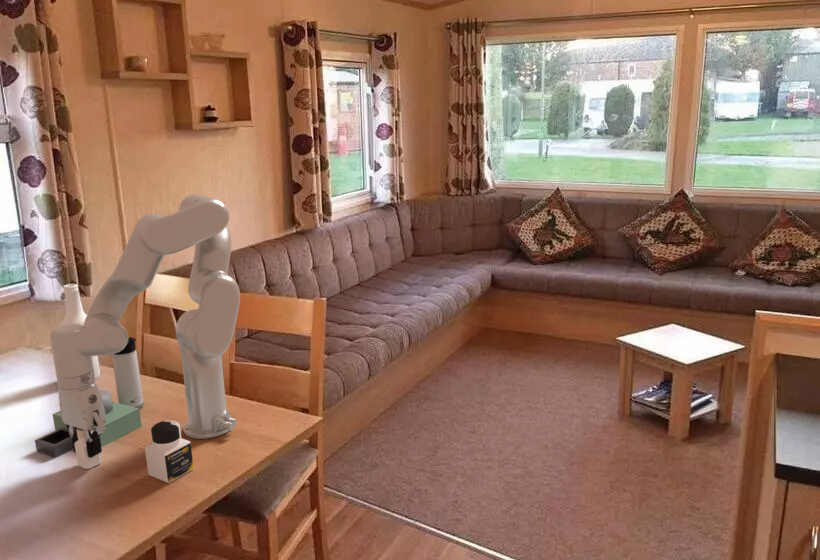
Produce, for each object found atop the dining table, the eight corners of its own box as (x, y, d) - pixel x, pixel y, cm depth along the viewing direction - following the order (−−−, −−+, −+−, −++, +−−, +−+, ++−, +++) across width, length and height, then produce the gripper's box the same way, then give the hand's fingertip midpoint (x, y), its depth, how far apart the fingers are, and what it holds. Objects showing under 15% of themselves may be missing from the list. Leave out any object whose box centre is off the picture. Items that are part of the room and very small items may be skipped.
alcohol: (96, 382, 201) (82, 287, 194) (65, 385, 200) (49, 290, 192) (103, 371, 210) (89, 280, 202) (73, 374, 208) (58, 282, 201)
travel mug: (139, 411, 181) (129, 343, 176) (115, 412, 181) (105, 343, 176) (148, 402, 187) (139, 335, 182) (125, 402, 187) (116, 335, 182)
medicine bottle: (168, 484, 145) (162, 434, 142) (147, 475, 149) (141, 427, 146) (194, 469, 151) (188, 421, 148) (173, 461, 154) (167, 414, 151)
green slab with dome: (141, 426, 172) (137, 394, 170) (101, 446, 162) (96, 413, 160) (96, 413, 180) (91, 382, 178) (55, 431, 170) (49, 399, 168)
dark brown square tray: (82, 444, 163) (80, 433, 163) (55, 457, 157) (53, 446, 156) (63, 438, 167) (62, 427, 166) (36, 451, 160) (34, 440, 160)
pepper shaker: (103, 463, 154) (97, 426, 152) (87, 470, 151) (80, 433, 149) (92, 458, 156) (87, 422, 154) (77, 466, 153) (70, 429, 151)
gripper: (115, 379, 148) (126, 453, 152) (67, 367, 155) (79, 437, 160) (85, 392, 141) (97, 468, 146) (37, 379, 149) (50, 451, 154)
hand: (87, 451), depth 153 cm, fingers closed on pepper shaker, 4 cm apart
